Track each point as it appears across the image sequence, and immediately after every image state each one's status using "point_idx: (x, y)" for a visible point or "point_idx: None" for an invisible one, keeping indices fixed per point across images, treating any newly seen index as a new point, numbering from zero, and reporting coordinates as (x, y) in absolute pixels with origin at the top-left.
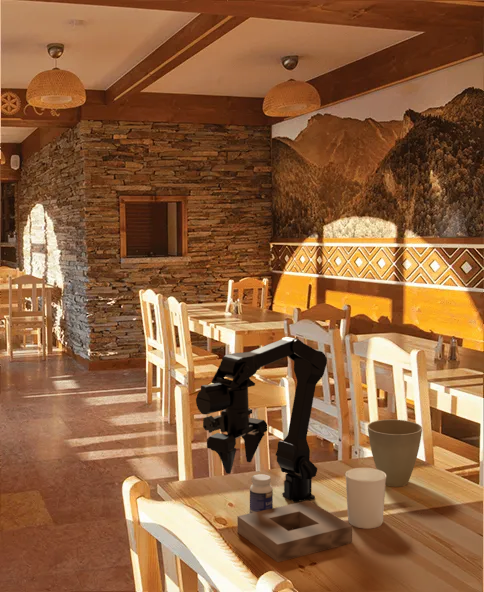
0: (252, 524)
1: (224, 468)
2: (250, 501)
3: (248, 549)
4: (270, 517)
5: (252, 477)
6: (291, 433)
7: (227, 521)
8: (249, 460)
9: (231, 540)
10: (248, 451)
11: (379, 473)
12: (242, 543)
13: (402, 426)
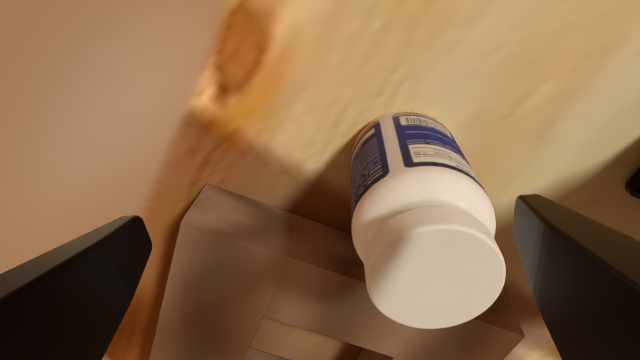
0: (172, 303)
1: (77, 240)
2: (359, 166)
3: (148, 277)
4: (271, 316)
5: (388, 248)
6: None
7: (253, 81)
8: (520, 236)
9: (145, 205)
10: (579, 304)
11: None
12: (160, 243)
13: None
